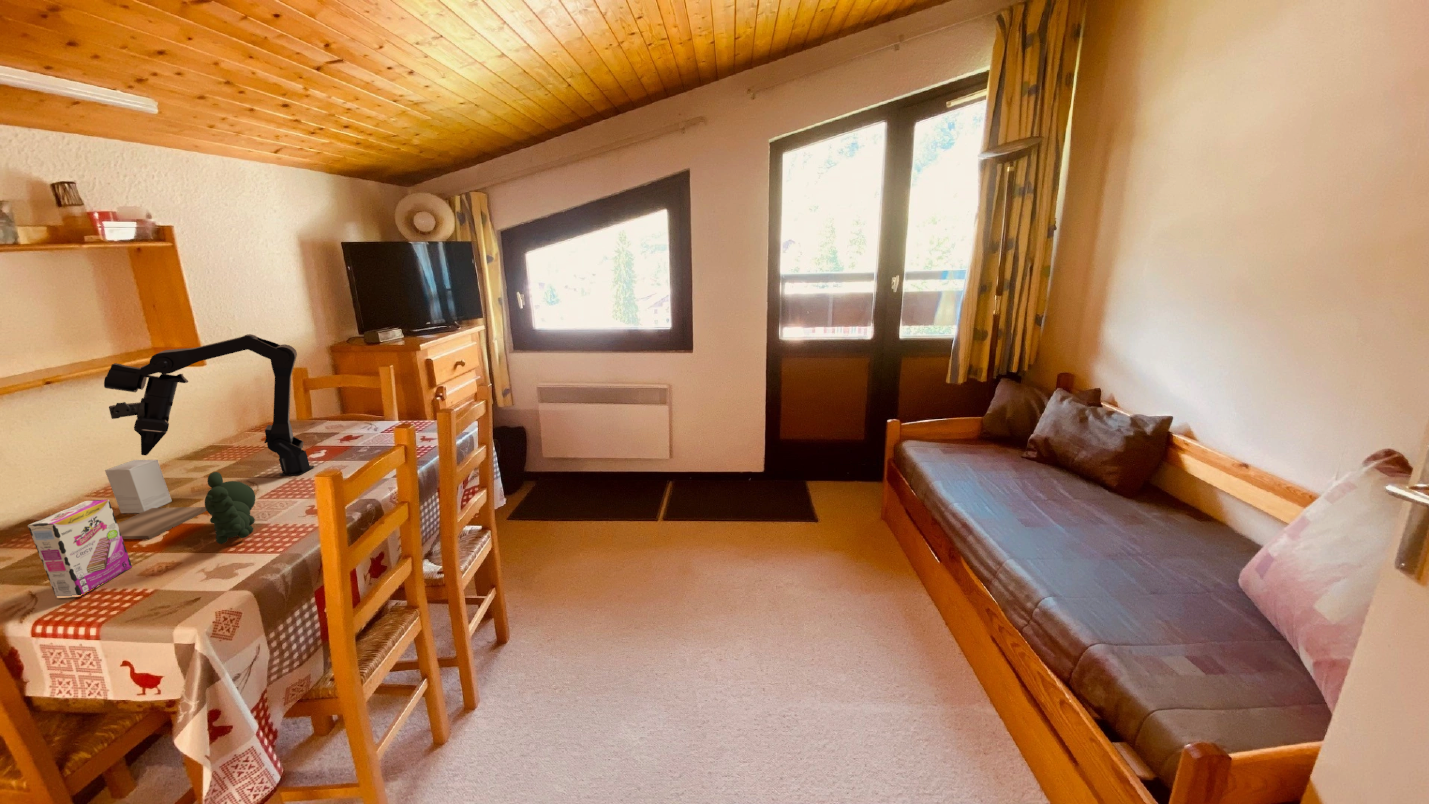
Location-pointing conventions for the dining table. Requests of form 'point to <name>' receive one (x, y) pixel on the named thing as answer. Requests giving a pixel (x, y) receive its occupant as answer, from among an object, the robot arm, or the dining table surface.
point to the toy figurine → (229, 507)
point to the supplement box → (138, 486)
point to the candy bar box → (80, 547)
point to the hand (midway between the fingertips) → (144, 452)
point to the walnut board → (156, 521)
